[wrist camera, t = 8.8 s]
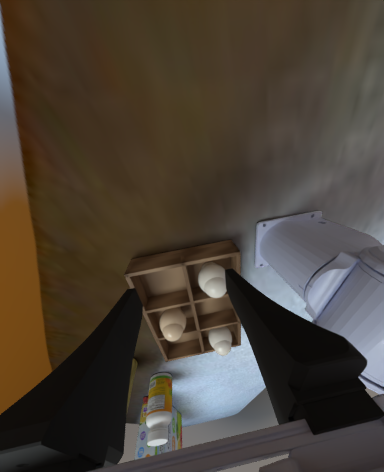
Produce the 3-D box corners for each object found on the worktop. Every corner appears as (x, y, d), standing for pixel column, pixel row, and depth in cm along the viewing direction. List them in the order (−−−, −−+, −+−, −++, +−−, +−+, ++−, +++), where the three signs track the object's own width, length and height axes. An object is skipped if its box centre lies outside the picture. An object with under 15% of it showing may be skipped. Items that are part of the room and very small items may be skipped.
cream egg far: (226, 315, 27) (236, 344, 23) (227, 328, 29) (237, 358, 25) (205, 320, 27) (211, 350, 23) (207, 333, 29) (213, 363, 25)
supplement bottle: (172, 380, 38) (172, 444, 29) (151, 383, 37) (145, 449, 29) (171, 370, 36) (171, 436, 27) (149, 373, 35) (141, 441, 26)
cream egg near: (222, 254, 21) (235, 278, 17) (223, 276, 23) (235, 302, 18) (193, 260, 21) (199, 285, 16) (197, 281, 23) (203, 309, 18)
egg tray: (231, 239, 21) (240, 251, 18) (234, 328, 31) (240, 345, 28) (131, 259, 21) (124, 274, 18) (166, 342, 30) (165, 361, 27)
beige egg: (183, 297, 24) (185, 327, 20) (187, 314, 26) (189, 345, 21) (158, 302, 24) (154, 333, 19) (163, 318, 26) (161, 350, 21)
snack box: (141, 396, 40) (124, 513, 27) (160, 391, 40) (153, 505, 27) (166, 418, 50) (164, 512, 36) (182, 414, 50) (185, 506, 36)
